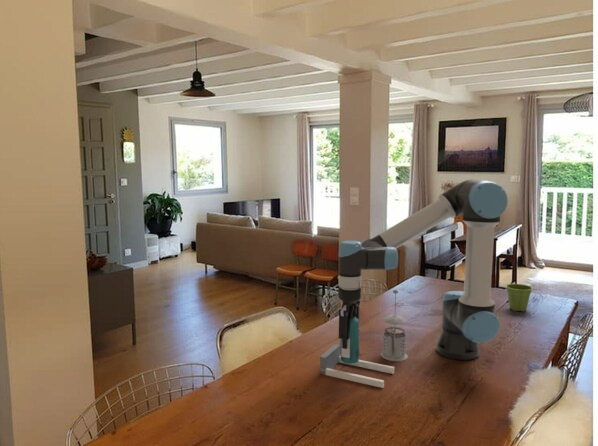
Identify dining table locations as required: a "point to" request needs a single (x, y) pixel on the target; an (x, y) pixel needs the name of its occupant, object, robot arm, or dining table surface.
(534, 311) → the dining table surface
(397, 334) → the french press
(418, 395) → the dining table surface
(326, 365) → the guide track
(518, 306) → the plant pot
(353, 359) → the beverage bottle
